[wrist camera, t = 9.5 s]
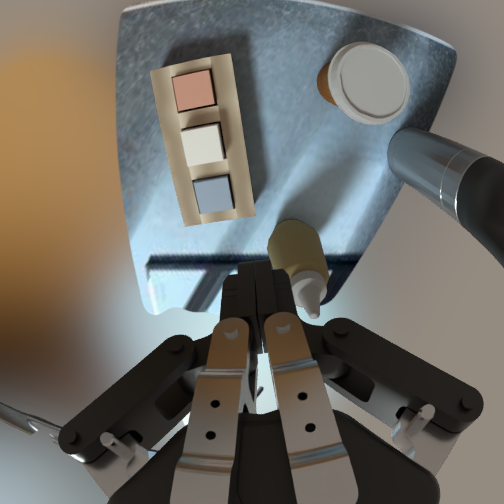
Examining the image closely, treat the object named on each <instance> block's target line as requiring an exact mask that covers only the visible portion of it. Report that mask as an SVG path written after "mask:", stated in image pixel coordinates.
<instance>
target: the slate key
mask: <svg viewBox="0 0 504 504" xmlns="http://www.w3.org/2000/svg"><path fill="white" fill-rule="evenodd" d="M194 188H195V192H196V197H197V201H198V205H199V209H200V214H205V213H211V212H217V211H224V210H230V209H233V201H234V199H233V194H232V188H231V182H230V177H229V174H223V175H217V176H211V177H206V178H200V179H196V180H195V182H194Z"/></svg>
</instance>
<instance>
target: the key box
mask: <svg viewBox="0 0 504 504" xmlns="http://www.w3.org/2000/svg"><path fill="white" fill-rule="evenodd" d="M206 70H209V71H212V74H213V80H214V86H215V92H216V98H217V104H218V105H215V106H209V107H204V108H199V109H194V110H190V111H185V112H184V110H182V111H178V106H177V100H176V95H175V90H174V84H173V78H175V77H179V76H183V75H187V74H192V73H196V72H201V71H206ZM150 73H151V79H152V85H153V90H154V96H155V101H156V106H157V111H158V116H159V121H160V126H161V130H162V135H163V140H164V144H165V149H166V153H167V158H168V162H169V166H170V170H171V174H172V179H173V183H174V187H175V191H176V195H177V199H178V203H179V206H180V210H181V214H182V218H183V222H184V225H185V227H186V226H192V225H198V224H205V223H211V222H218V221H224V220H231V219H238V218H245V217H252V216H256V215H255V206H254V199H253V192H252V186H251V179H250V172H249V166H248V159H247V152H246V146H245V139H244V133H243V126H242V120H241V113H240V107H239V100H238V94H237V88H236V81H235V75H234V69H233V62H232V57H231V53H230V54H223V55H217V56H212V57H207V58H202V59H197V60H192V61H188V62H183V63H179V64H175V65H171V66H167V67H164V68H160V69H157V70H153V71H150ZM217 121H221V127H222V133H223V139H224V145H225V150H226V153H225V156H224V160H223V161H217V162H211V163H206V164H200V165H195V166H190V167H188V166H187V162H186V157H185V152H184V148H183V143H182V138H181V133H180V132H182V131H183V130H185V129H187V127H191V126H196V125H201V124H206V123H211V122H217ZM223 174H230V179H231V185H232V191H233V196H234V198H233V199H234V201H233V209H230V210H224V211H217V212H211V213H205V214H200V209H199V205H198V201H197V197H196V192H195V188H194V182H195V180H196V179H200V178H206V177H211V176H217V175H223Z"/></svg>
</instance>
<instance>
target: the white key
mask: <svg viewBox="0 0 504 504" xmlns="http://www.w3.org/2000/svg"><path fill="white" fill-rule="evenodd" d="M180 133H181V138H182V143H183V148H184V152H185V157H186V162H187V166H188V167H190V166H195V165H200V164H206V163H211V162H217V161H223V160H224V156H225V153H224V147H223V141H222V136H221V130H220V124H219V123H214V124H208V125H203V126H198V127H193V128H188V129H185V130H183V131H182V132H180Z"/></svg>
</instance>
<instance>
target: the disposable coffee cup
mask: <svg viewBox="0 0 504 504" xmlns="http://www.w3.org/2000/svg"><path fill="white" fill-rule="evenodd" d="M317 87H318V90H319V92H320V94H321V95H322V96H323V97H324V98H325V99H326V100H327V101H328V102H330V103H332V104H334V105H336V106H337V107H339V108H340V109H341V110H342V111H343V112H344V113H345V114H346V115H347V116H349V117H350V118H352V119H354V120H355V121H357V122H360V123H363V124H368V125H379V124H384V123H386V122H389V121H391V120H392V119H393V118H395V117H396V116H398V115H399V114H400V113H401V112H402V111H403V110H404V108H405V106H406V104H407V102H408V99H409V94H410V83H409V79H408V75H407V72H406V70H405V68H404V66H403V65H402V63H401V62H400V61H399V60H398V58H397V57H396V56H395V55H393V54H392V53H391V52H390V51H388V50H387V49H385V48H383V47H381V46H379V45H377V44H374V43H370V42H354V43H351V44H348V45H346V46H344V47H343V48H341V49H340V50H339V51H338V52H337V53H336V54H335V55H334V57H333V58H332V60H331V62H329V63H328V64H327V65H326V66H325V67H323V68H322V69H321V70H320V72H319V74H318V76H317Z"/></svg>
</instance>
